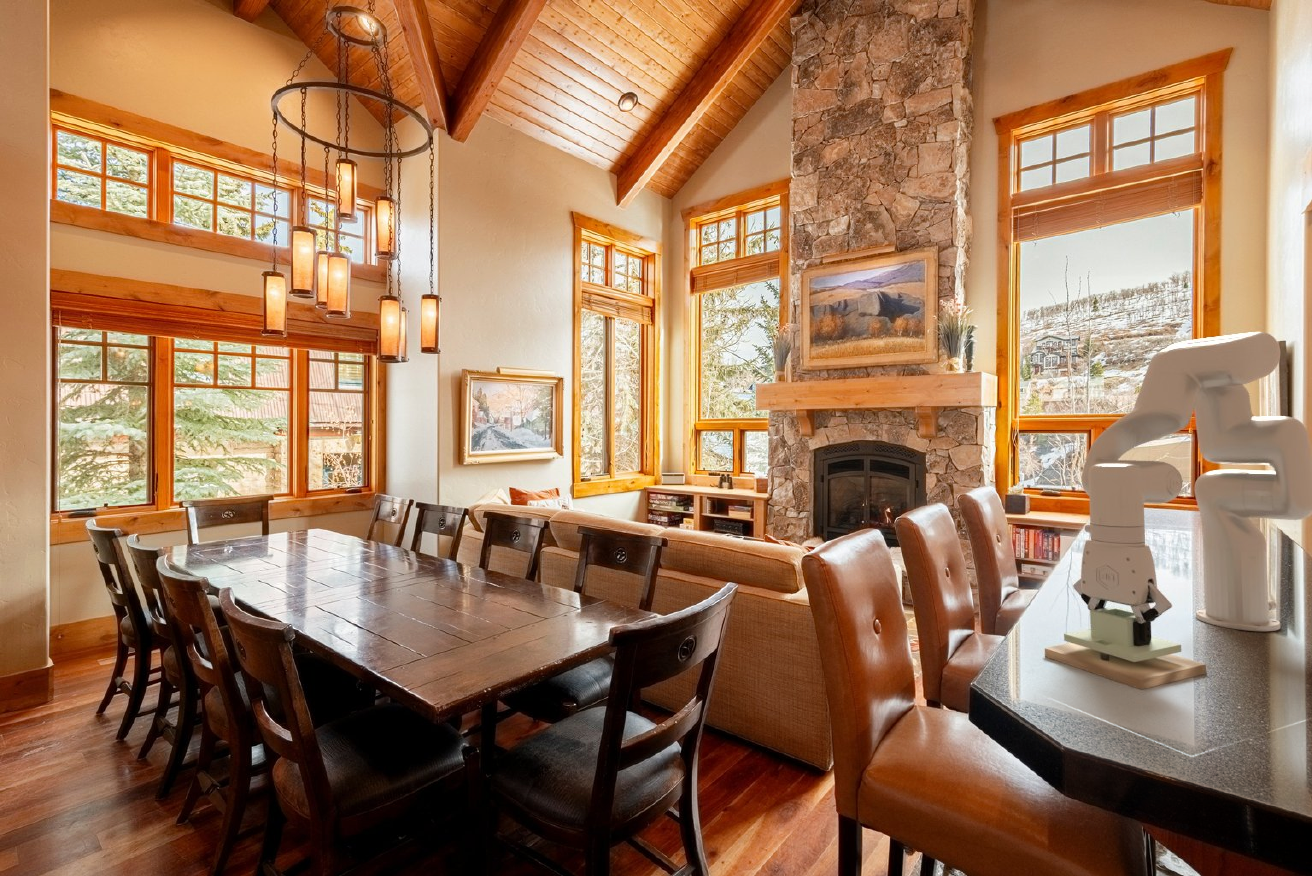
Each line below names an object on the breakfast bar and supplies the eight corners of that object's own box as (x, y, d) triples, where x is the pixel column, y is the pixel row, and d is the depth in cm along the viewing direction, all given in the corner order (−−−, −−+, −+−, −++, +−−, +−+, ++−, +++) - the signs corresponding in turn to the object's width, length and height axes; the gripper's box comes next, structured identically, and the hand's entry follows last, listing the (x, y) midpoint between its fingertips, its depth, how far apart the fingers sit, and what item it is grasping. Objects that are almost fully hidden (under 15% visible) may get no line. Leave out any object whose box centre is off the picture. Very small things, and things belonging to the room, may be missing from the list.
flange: (1109, 632, 112) (1108, 601, 112) (1181, 651, 101) (1180, 617, 101) (1064, 640, 108) (1063, 608, 108) (1134, 662, 97) (1133, 626, 97)
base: (1106, 643, 115) (1105, 636, 115) (1206, 673, 100) (1206, 664, 100) (1044, 656, 110) (1044, 648, 110) (1141, 689, 95) (1140, 679, 95)
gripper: (1054, 530, 112) (1057, 628, 112) (1158, 544, 96) (1162, 658, 95) (1082, 527, 114) (1086, 623, 114) (1189, 540, 98) (1193, 651, 98)
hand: (1120, 638), depth 105 cm, fingers closed on flange, 6 cm apart
